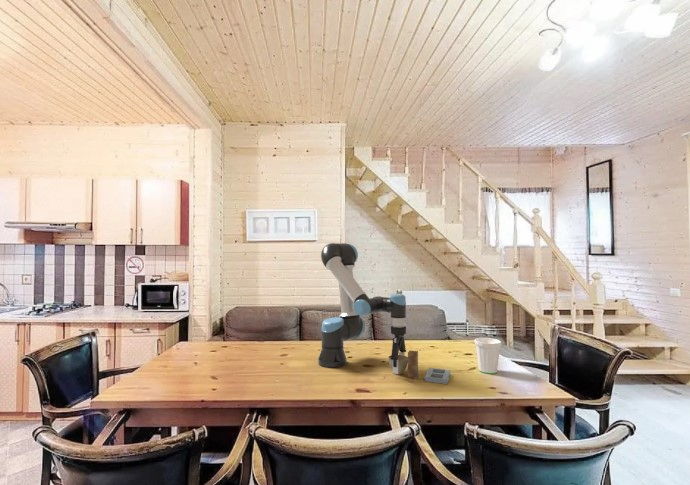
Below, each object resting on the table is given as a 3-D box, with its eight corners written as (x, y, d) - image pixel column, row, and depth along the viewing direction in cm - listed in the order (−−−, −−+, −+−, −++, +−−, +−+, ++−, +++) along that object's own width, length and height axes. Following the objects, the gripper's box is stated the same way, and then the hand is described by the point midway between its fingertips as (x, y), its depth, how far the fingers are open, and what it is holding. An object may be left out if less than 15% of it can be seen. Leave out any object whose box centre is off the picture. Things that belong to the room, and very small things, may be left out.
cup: (481, 365, 187) (481, 336, 188) (505, 371, 178) (505, 340, 179) (470, 371, 179) (470, 340, 179) (495, 377, 170) (494, 345, 170)
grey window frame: (424, 381, 165) (424, 376, 165) (429, 371, 178) (429, 367, 178) (447, 384, 161) (447, 379, 161) (450, 374, 174) (450, 370, 174)
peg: (407, 378, 168) (407, 352, 169) (409, 375, 172) (409, 350, 173) (416, 379, 167) (416, 353, 167) (417, 376, 171) (417, 351, 171)
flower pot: (408, 376, 170) (408, 361, 171) (387, 374, 172) (387, 359, 173) (408, 369, 180) (408, 355, 180) (389, 368, 182) (389, 354, 182)
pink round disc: (392, 373, 175) (392, 373, 175) (394, 370, 180) (394, 369, 180) (402, 374, 173) (402, 374, 173) (404, 371, 178) (404, 371, 178)
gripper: (400, 331, 164) (400, 378, 163) (411, 321, 187) (411, 362, 186) (384, 330, 167) (384, 376, 166) (396, 321, 190) (397, 361, 189)
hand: (398, 369), depth 176 cm, fingers open, 13 cm apart
